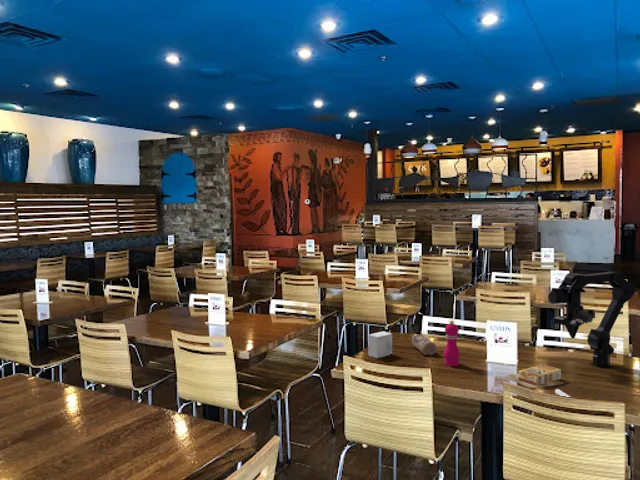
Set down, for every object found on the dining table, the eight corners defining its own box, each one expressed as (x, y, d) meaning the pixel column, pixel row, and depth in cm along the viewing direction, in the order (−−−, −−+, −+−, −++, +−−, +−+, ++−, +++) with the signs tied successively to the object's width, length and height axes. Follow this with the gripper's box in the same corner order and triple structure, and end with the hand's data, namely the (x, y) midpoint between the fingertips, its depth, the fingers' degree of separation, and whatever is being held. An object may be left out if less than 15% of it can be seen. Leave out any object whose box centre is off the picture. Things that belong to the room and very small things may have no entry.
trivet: (535, 372, 229) (535, 371, 229) (563, 383, 214) (563, 382, 214) (504, 376, 224) (504, 375, 224) (530, 388, 209) (530, 387, 209)
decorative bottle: (437, 355, 256) (437, 342, 256) (422, 356, 256) (422, 342, 255) (420, 342, 282) (420, 329, 282) (406, 342, 281) (406, 330, 281)
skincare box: (377, 358, 253) (377, 336, 252) (368, 355, 258) (367, 334, 257) (392, 354, 259) (392, 333, 259) (383, 351, 264) (383, 330, 264)
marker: (587, 412, 186) (587, 405, 185) (582, 412, 185) (582, 405, 185) (559, 394, 203) (560, 388, 203) (554, 394, 203) (554, 388, 203)
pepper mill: (441, 362, 245) (441, 319, 244) (456, 361, 246) (456, 318, 244) (446, 367, 238) (446, 322, 237) (462, 366, 239) (462, 322, 237)
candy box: (561, 369, 218) (536, 375, 210) (561, 379, 218) (536, 386, 210) (542, 363, 225) (518, 370, 217) (542, 373, 226) (517, 380, 218)
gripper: (575, 308, 221) (575, 345, 222) (604, 303, 230) (603, 339, 231) (552, 303, 231) (552, 339, 232) (581, 299, 239) (580, 334, 240)
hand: (572, 338), depth 233 cm, fingers closed
